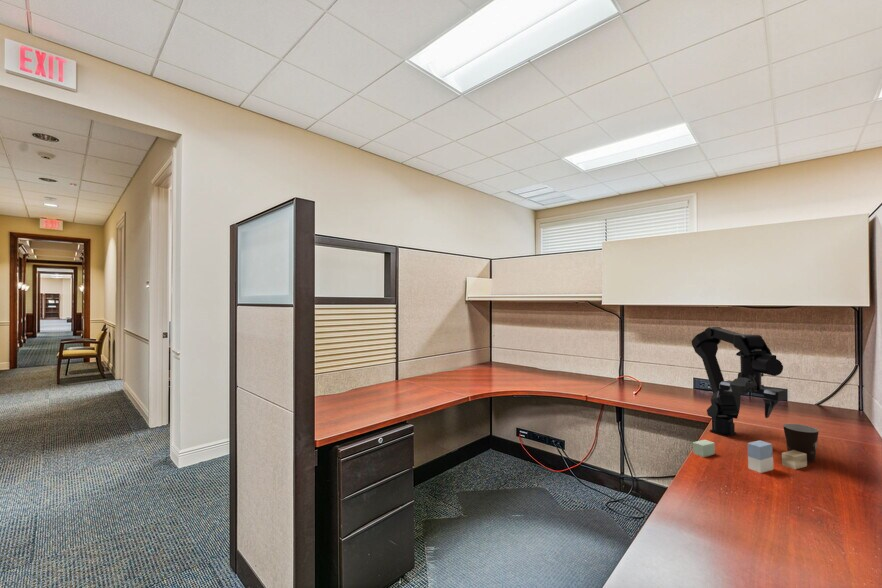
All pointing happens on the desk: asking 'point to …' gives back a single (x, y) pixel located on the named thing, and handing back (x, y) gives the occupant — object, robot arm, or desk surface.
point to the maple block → (794, 459)
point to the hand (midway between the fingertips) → (751, 414)
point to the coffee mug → (801, 439)
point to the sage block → (704, 448)
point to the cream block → (760, 464)
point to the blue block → (760, 450)
